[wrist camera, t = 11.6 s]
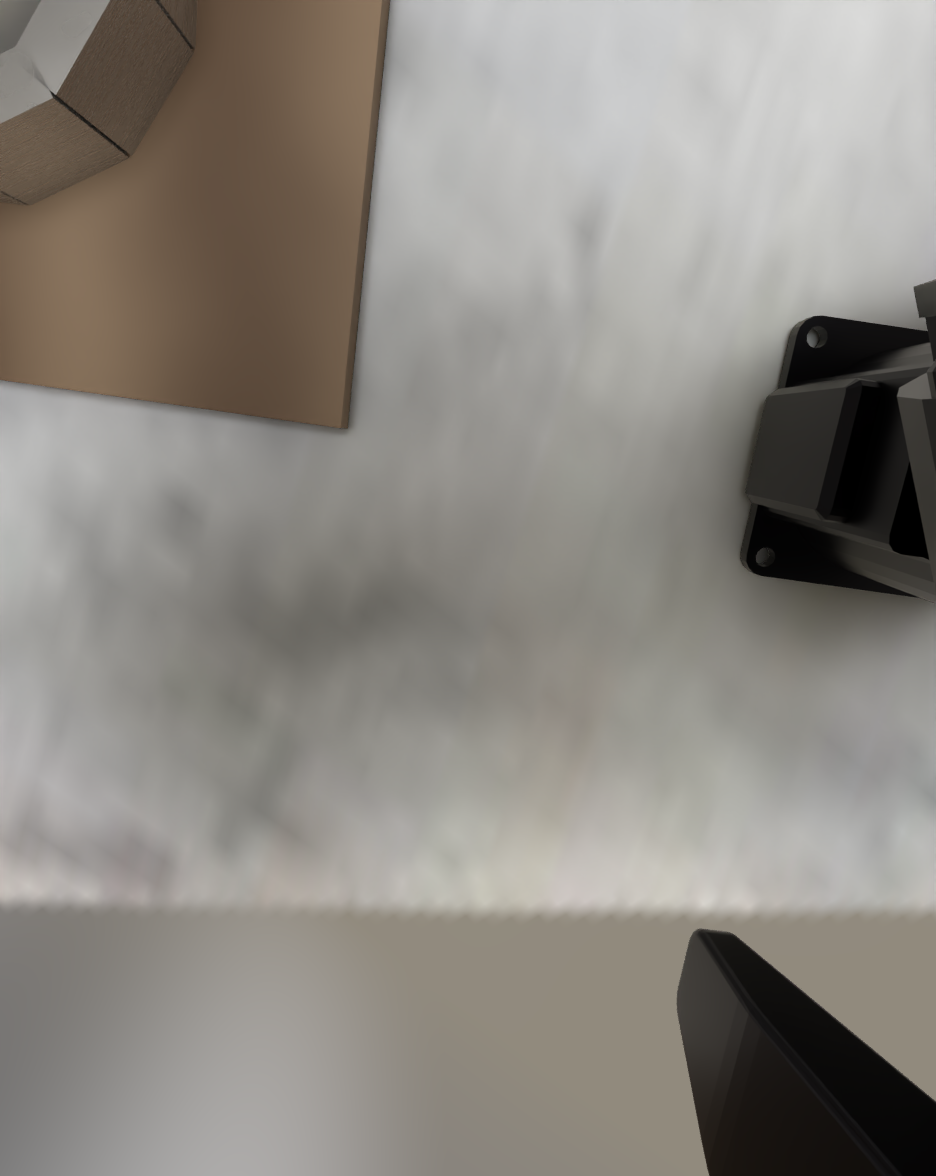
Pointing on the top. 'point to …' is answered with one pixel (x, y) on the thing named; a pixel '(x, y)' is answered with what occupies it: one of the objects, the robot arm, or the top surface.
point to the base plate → (216, 228)
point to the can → (14, 20)
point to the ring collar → (86, 88)
